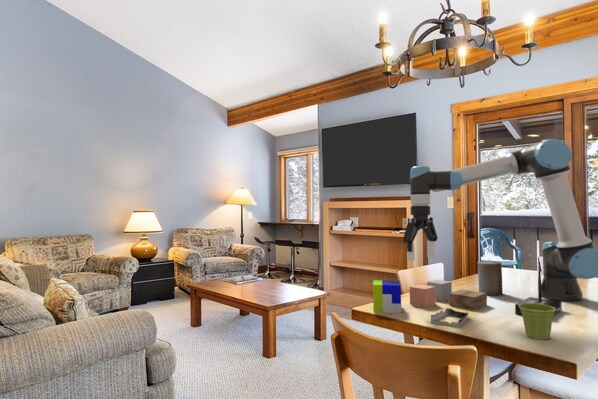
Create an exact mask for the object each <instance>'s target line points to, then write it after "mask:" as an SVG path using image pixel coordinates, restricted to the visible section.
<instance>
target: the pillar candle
mask: <svg viewBox="0 0 598 399" xmlns="http://www.w3.org/2000/svg"><path fill="white" fill-rule="evenodd" d="M502 269H503V266H502V262H500V261H494V260H493V261H492V260H491V259H488V260H483V261H482V260H481V261H477V280H478V284H477V285H478V292H483V293H487V296H503V294H504V293H503V270H502Z"/></svg>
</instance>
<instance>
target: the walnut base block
mask: <svg viewBox="0 0 598 399" xmlns="http://www.w3.org/2000/svg"><path fill="white" fill-rule="evenodd" d="M487 296H488V295H487V293H483V292H479V291H475V290H467V289H459V290H456V291H452V293H450V299H449V306H450V305H451V307H457V308H461V307H462V309H467V310H473V311H477V310H479V309H481V308H484V307H486V306H488V301H487V300H488V299H487Z"/></svg>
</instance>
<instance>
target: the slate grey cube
mask: <svg viewBox="0 0 598 399" xmlns="http://www.w3.org/2000/svg"><path fill="white" fill-rule="evenodd" d="M426 283H427V286H434V287H435V300H436V301H440V302H445V301H448V300H450V293H452V292H453V290H452V289H453V288H452V283H453V282H452V281H449V280H441V279H433V280H429V281H427V282H426Z"/></svg>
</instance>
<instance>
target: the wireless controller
mask: <svg viewBox="0 0 598 399" xmlns="http://www.w3.org/2000/svg"><path fill="white" fill-rule="evenodd" d="M537 264H538V268H537V269H538V270H537V271H538V274H537V276H538V277H537V292H538V293H537V295H538V296H537V297H532V296H529V297H527V298H525V299H523V300H521V301H519V302H518V303H515V304H514V308H515V310H514V312H515V314H514V315H517V316H522V313H521V310H520V308H519V305H520V304H526V303H533V304H542V305H548V306H552V307H554V308H556V311H554V315H553V318H554V317H555V316H557V315H558V314H560V313H561V312H562V311H563V309H562V307H563V306H562V304H563V303H562V301H561V300H553V299H548V298H543V297H542V288H541V283H542V277H541V276H542V275H541V262H540V261H538V262H537Z"/></svg>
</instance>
